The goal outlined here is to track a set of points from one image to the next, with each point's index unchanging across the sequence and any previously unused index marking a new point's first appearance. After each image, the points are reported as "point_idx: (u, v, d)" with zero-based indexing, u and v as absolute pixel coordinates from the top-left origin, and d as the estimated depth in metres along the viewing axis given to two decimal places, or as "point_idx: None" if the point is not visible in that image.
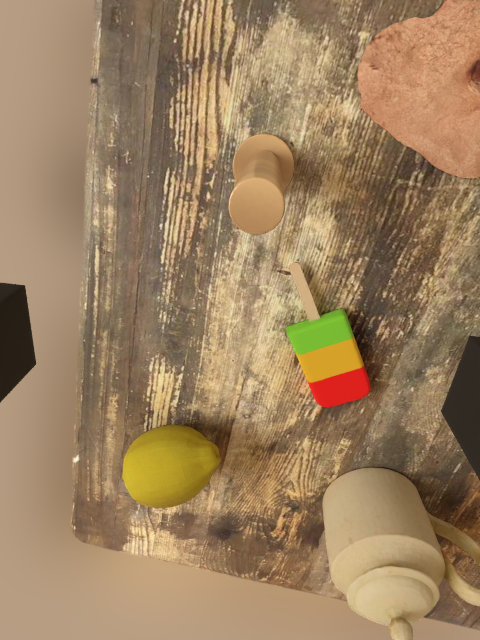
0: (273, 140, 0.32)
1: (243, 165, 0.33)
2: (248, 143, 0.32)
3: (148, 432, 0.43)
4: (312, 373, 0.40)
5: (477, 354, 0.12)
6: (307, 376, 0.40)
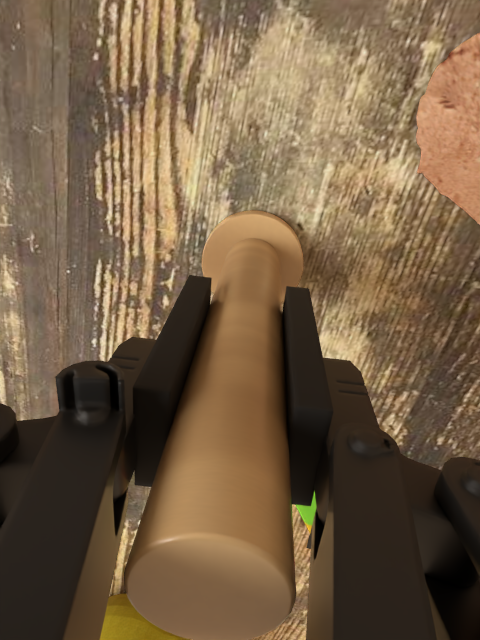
0: (269, 223, 0.19)
1: (219, 261, 0.20)
2: (227, 227, 0.19)
3: None
4: None
5: (286, 299, 0.14)
6: None
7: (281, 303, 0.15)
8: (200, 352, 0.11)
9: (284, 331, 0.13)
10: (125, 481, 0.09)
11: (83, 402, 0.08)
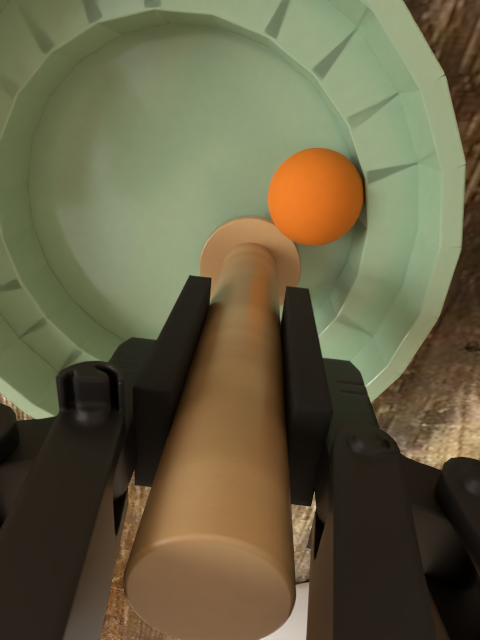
0: (268, 228, 0.19)
1: (217, 264, 0.20)
2: (226, 231, 0.19)
3: None
4: None
5: (286, 299, 0.14)
6: None
7: (279, 308, 0.15)
8: (200, 354, 0.11)
9: (284, 331, 0.13)
10: (125, 481, 0.09)
11: (83, 403, 0.08)
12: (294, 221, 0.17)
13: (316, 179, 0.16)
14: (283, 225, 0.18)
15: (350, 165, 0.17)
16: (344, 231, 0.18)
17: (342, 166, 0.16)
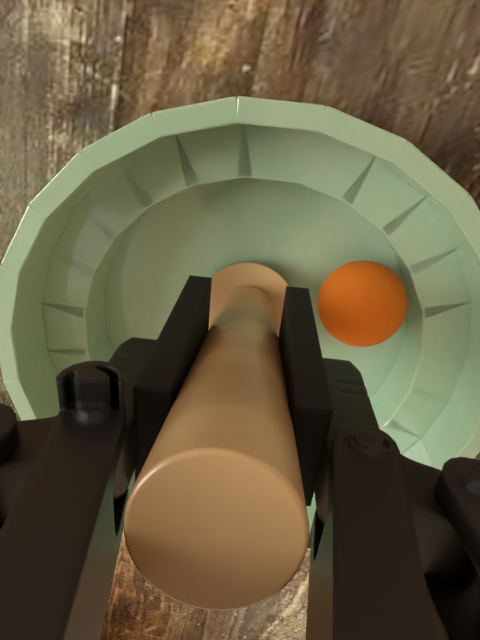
0: (283, 287, 0.20)
1: (222, 291, 0.20)
2: (248, 268, 0.20)
3: None
4: None
5: (285, 299, 0.14)
6: None
7: None
8: (226, 339, 0.11)
9: (284, 331, 0.13)
10: (125, 481, 0.09)
11: (84, 402, 0.08)
12: (332, 315, 0.19)
13: (368, 296, 0.18)
14: (322, 312, 0.19)
15: (403, 298, 0.18)
16: (368, 345, 0.19)
17: (395, 296, 0.18)
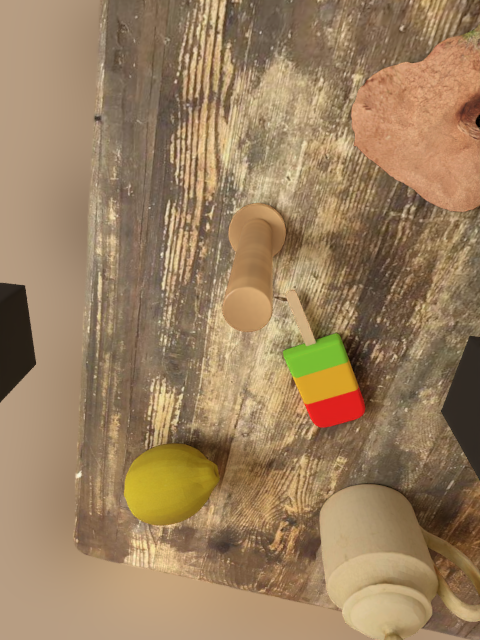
0: (278, 219, 0.35)
1: (242, 222, 0.35)
2: (257, 208, 0.35)
3: (149, 451, 0.44)
4: (308, 395, 0.41)
5: (477, 354, 0.12)
6: (303, 398, 0.41)
7: None
8: (247, 254, 0.26)
9: None
10: None
11: None
12: None
13: None
14: None
15: None
16: None
17: None
